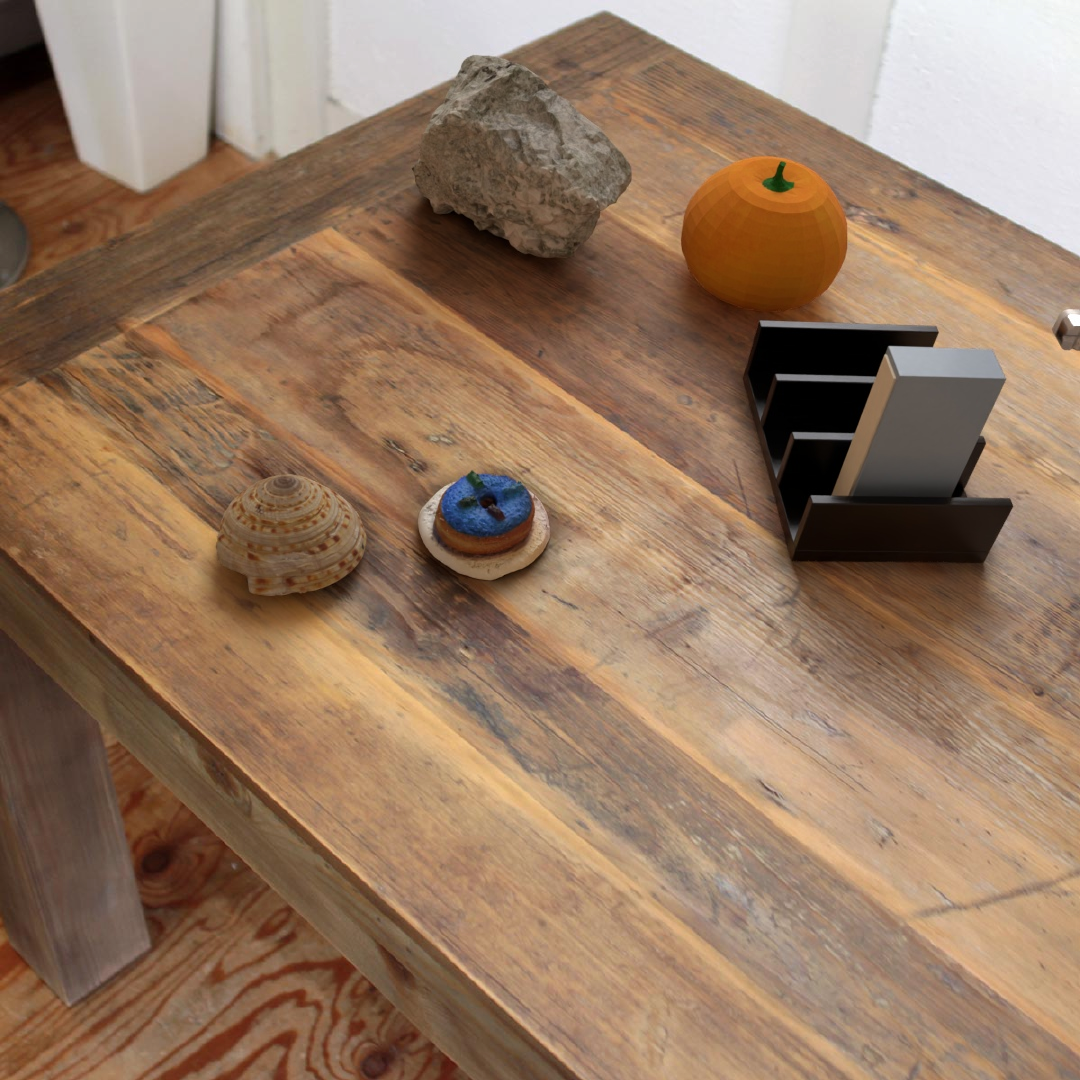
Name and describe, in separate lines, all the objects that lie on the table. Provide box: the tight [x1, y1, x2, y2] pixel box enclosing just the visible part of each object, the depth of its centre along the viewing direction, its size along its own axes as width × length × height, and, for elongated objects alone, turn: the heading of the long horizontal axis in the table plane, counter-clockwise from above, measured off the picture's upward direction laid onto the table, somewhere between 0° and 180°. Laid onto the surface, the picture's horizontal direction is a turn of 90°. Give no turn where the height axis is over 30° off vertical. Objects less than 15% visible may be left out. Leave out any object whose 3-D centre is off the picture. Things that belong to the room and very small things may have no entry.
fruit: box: [680, 155, 848, 313], centre depth 94 cm, size 12×12×10 cm
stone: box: [411, 54, 633, 259], centre depth 96 cm, size 10×12×15 cm
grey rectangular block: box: [832, 346, 1007, 497], centre depth 77 cm, size 2×6×12 cm, turn 94°
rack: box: [742, 319, 1014, 564], centre depth 83 cm, size 12×16×5 cm
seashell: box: [215, 473, 368, 597], centre depth 75 cm, size 8×6×8 cm
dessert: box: [417, 469, 551, 581], centre depth 78 cm, size 8×7×6 cm
